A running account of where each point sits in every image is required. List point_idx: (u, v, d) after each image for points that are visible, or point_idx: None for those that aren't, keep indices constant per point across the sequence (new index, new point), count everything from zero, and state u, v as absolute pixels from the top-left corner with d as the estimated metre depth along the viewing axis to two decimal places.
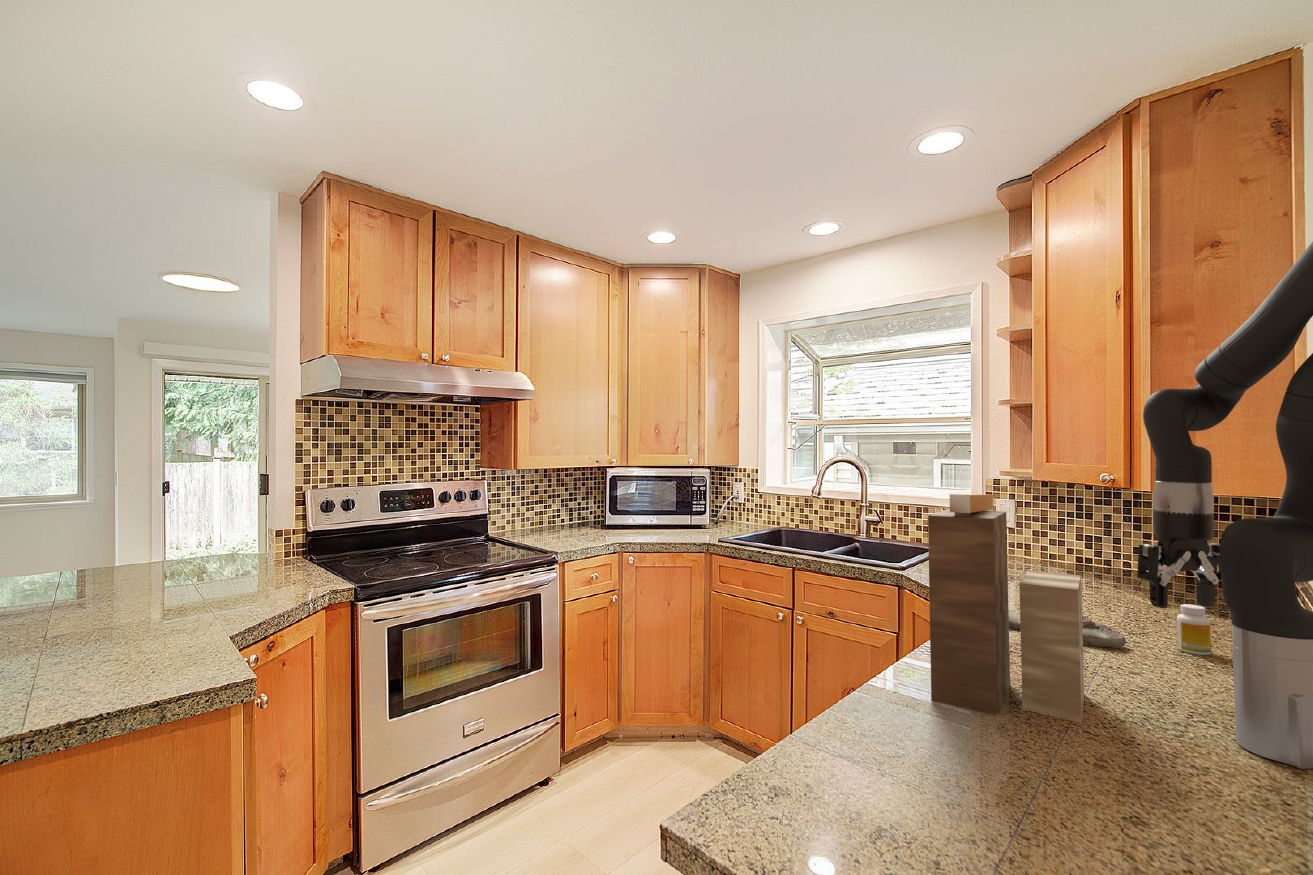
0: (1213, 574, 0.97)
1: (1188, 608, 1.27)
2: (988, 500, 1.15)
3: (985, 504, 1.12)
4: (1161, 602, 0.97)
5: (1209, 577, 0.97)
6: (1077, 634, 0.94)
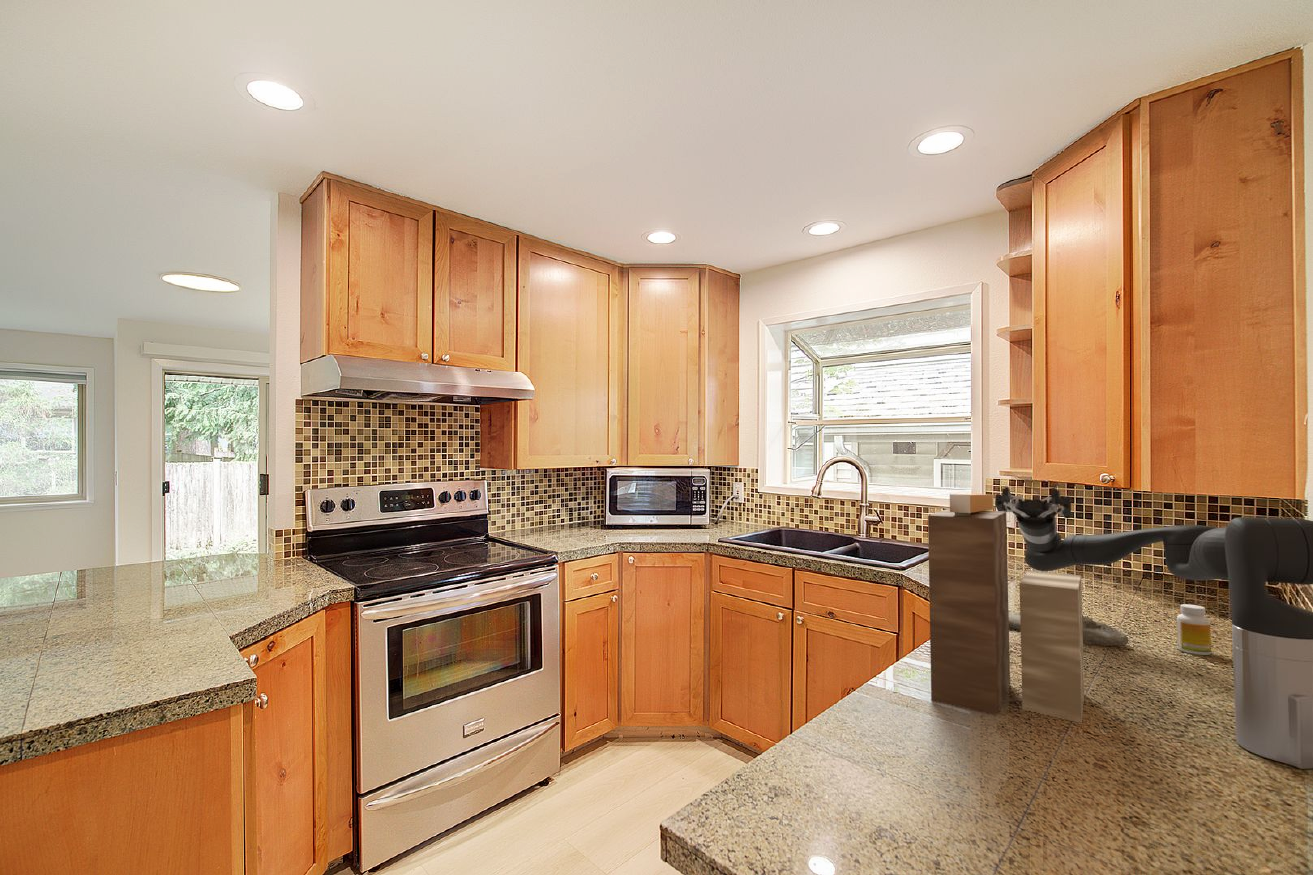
0: None
1: (1188, 608, 1.27)
2: (988, 500, 1.15)
3: (985, 504, 1.12)
4: None
5: (1051, 497, 1.29)
6: (1077, 634, 0.94)
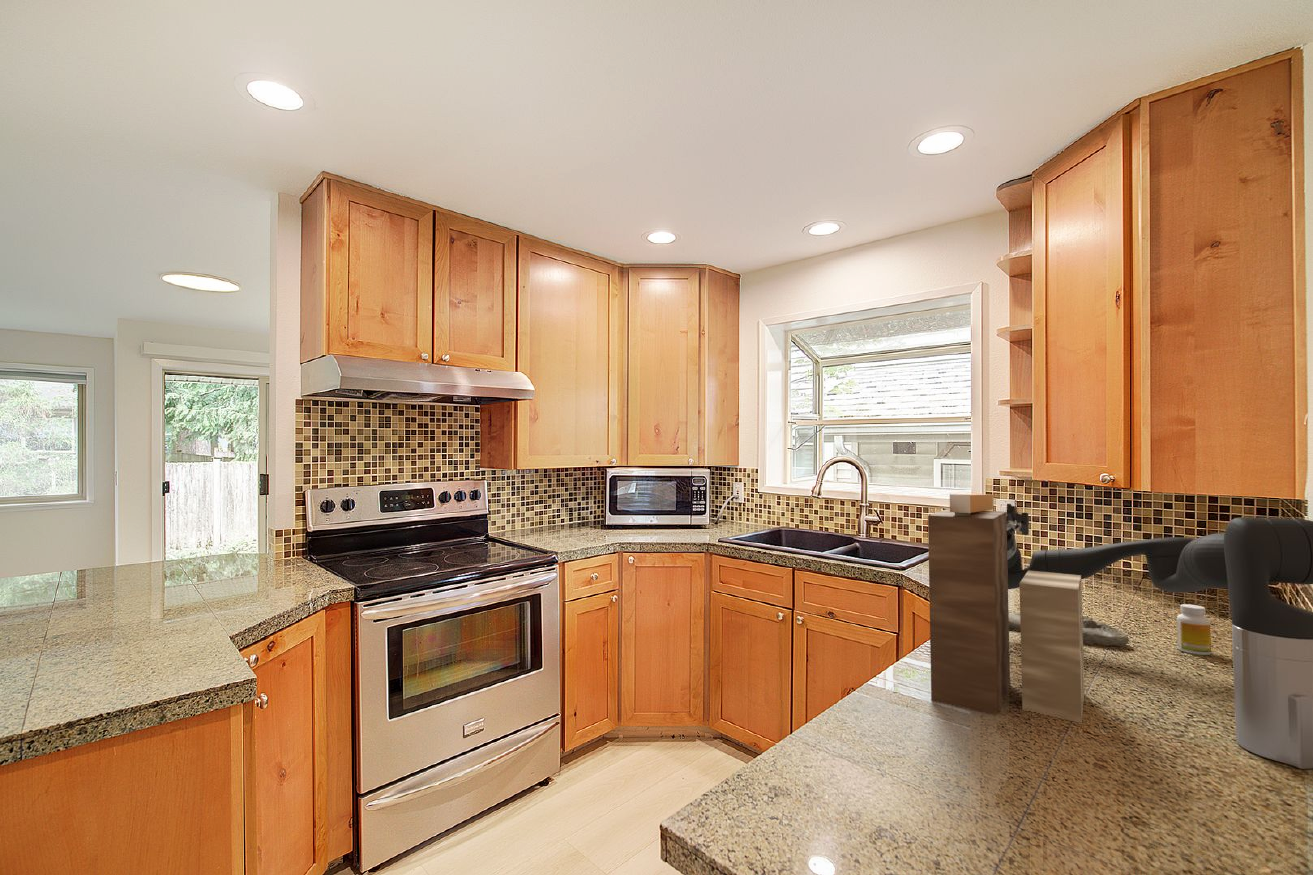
0: None
1: (1188, 608, 1.27)
2: (988, 500, 1.15)
3: (985, 504, 1.12)
4: None
5: None
6: (1077, 634, 0.94)
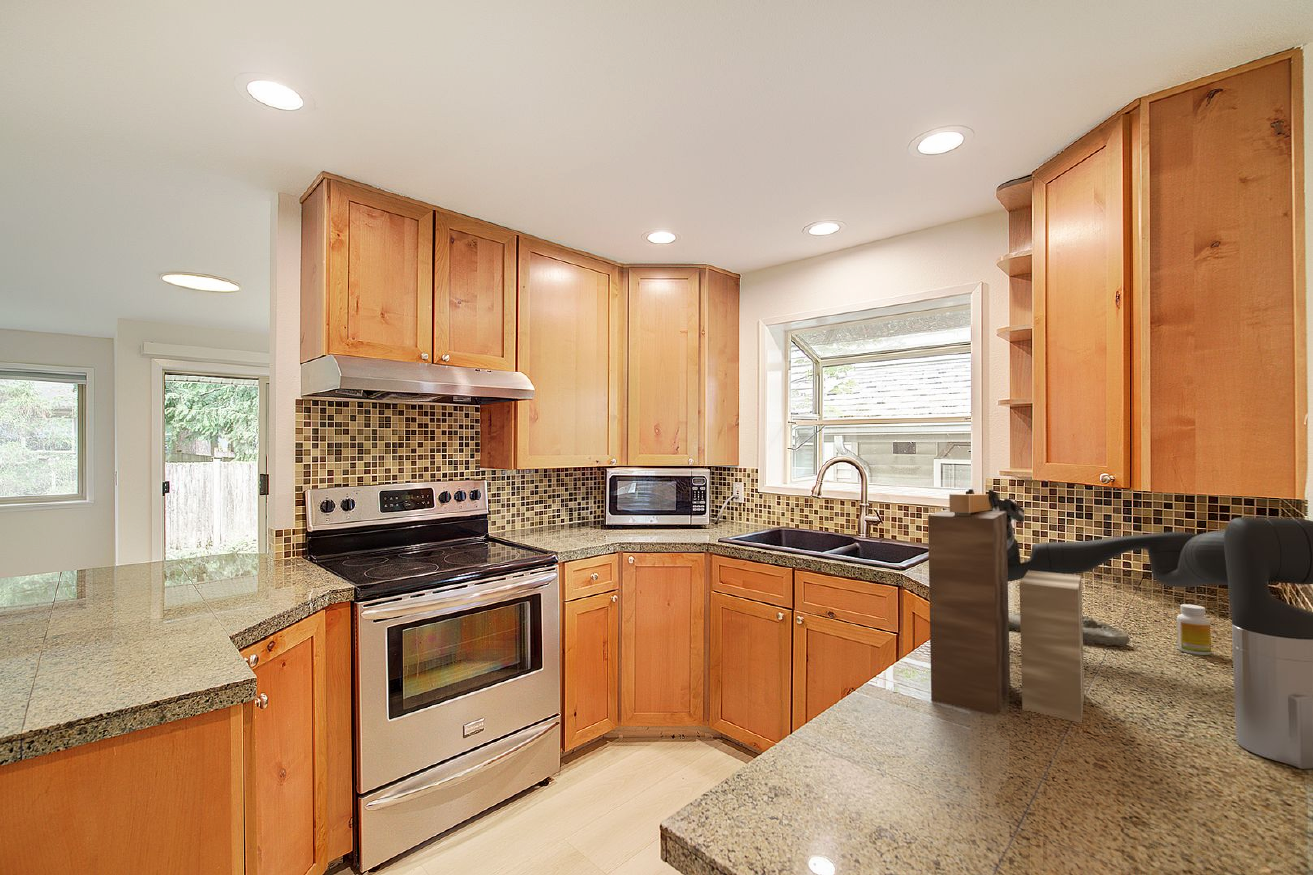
0: None
1: (1188, 608, 1.27)
2: (988, 500, 1.15)
3: (985, 504, 1.12)
4: None
5: None
6: (1077, 634, 0.94)
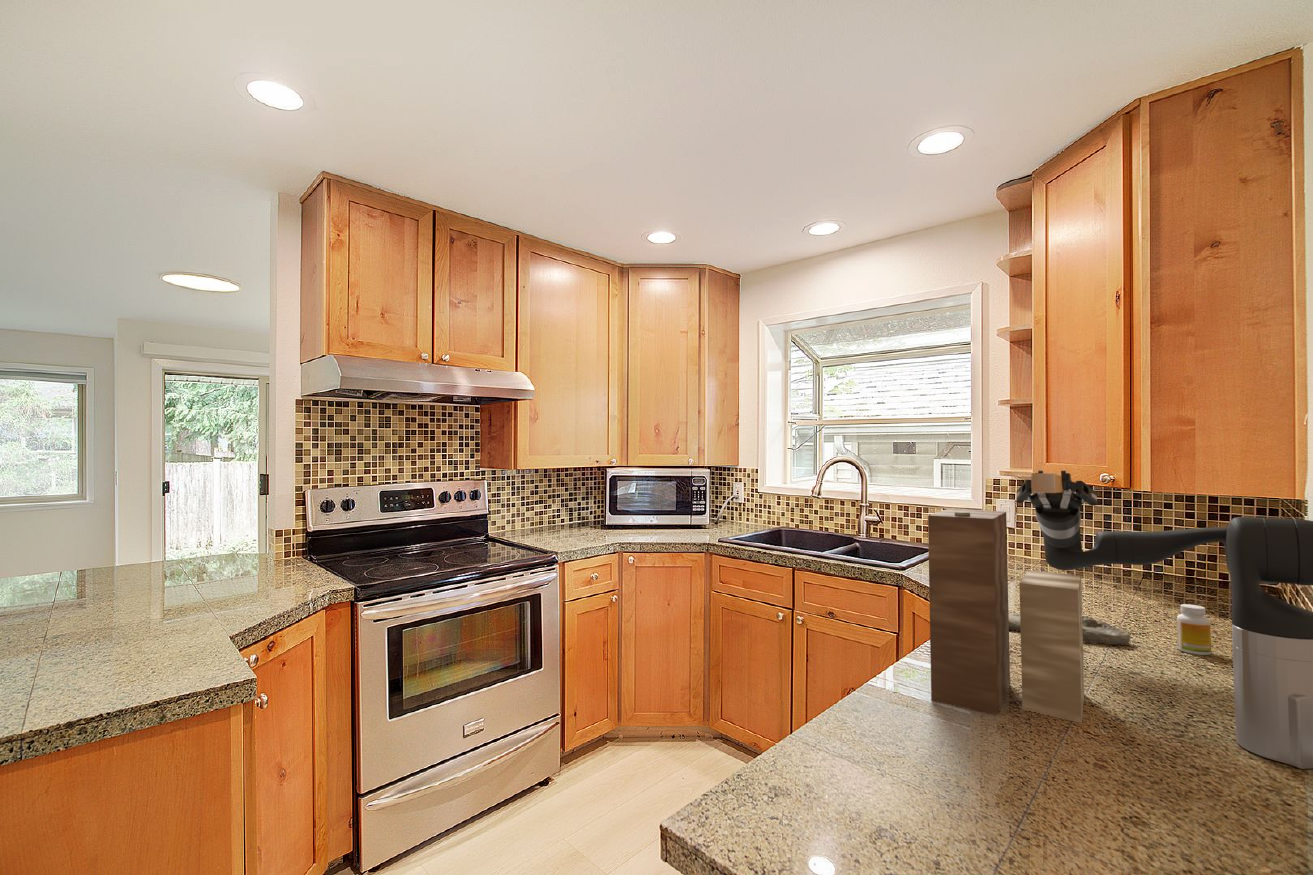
0: None
1: (1188, 608, 1.27)
2: (1061, 482, 1.08)
3: (1060, 485, 1.05)
4: None
5: None
6: (1077, 634, 0.94)
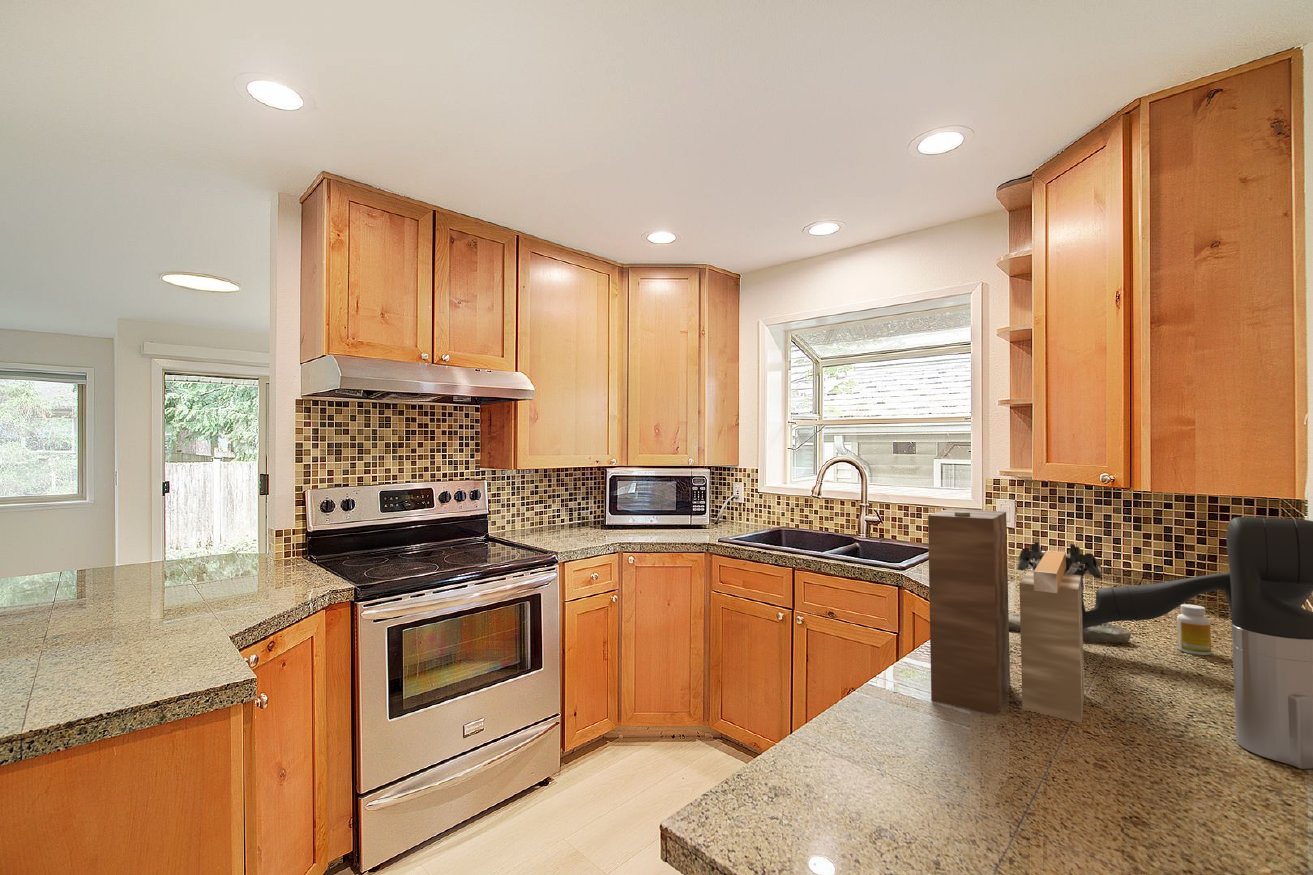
0: None
1: (1188, 608, 1.27)
2: None
3: None
4: None
5: None
6: (1077, 634, 0.94)
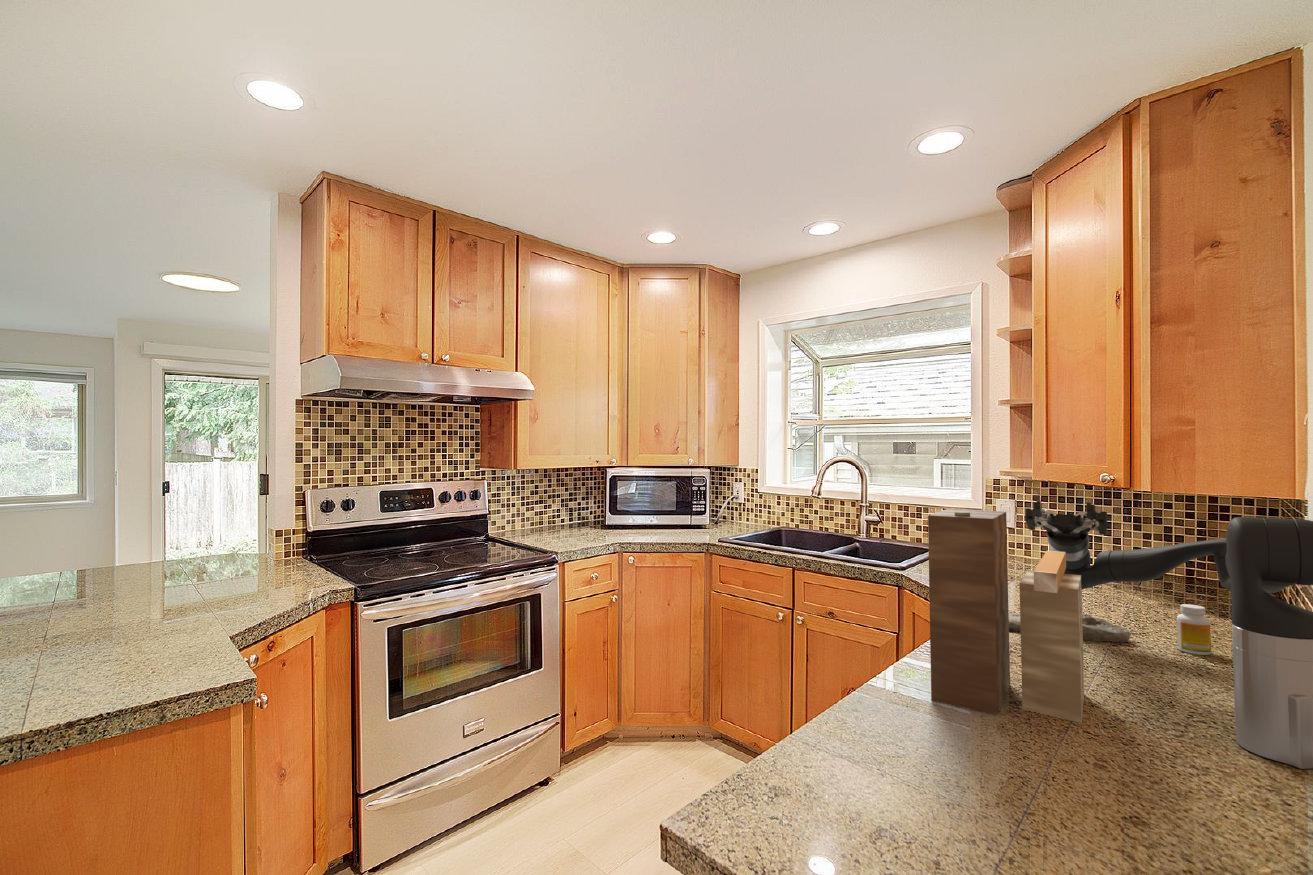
0: None
1: (1188, 608, 1.27)
2: None
3: None
4: None
5: None
6: (1077, 634, 0.94)
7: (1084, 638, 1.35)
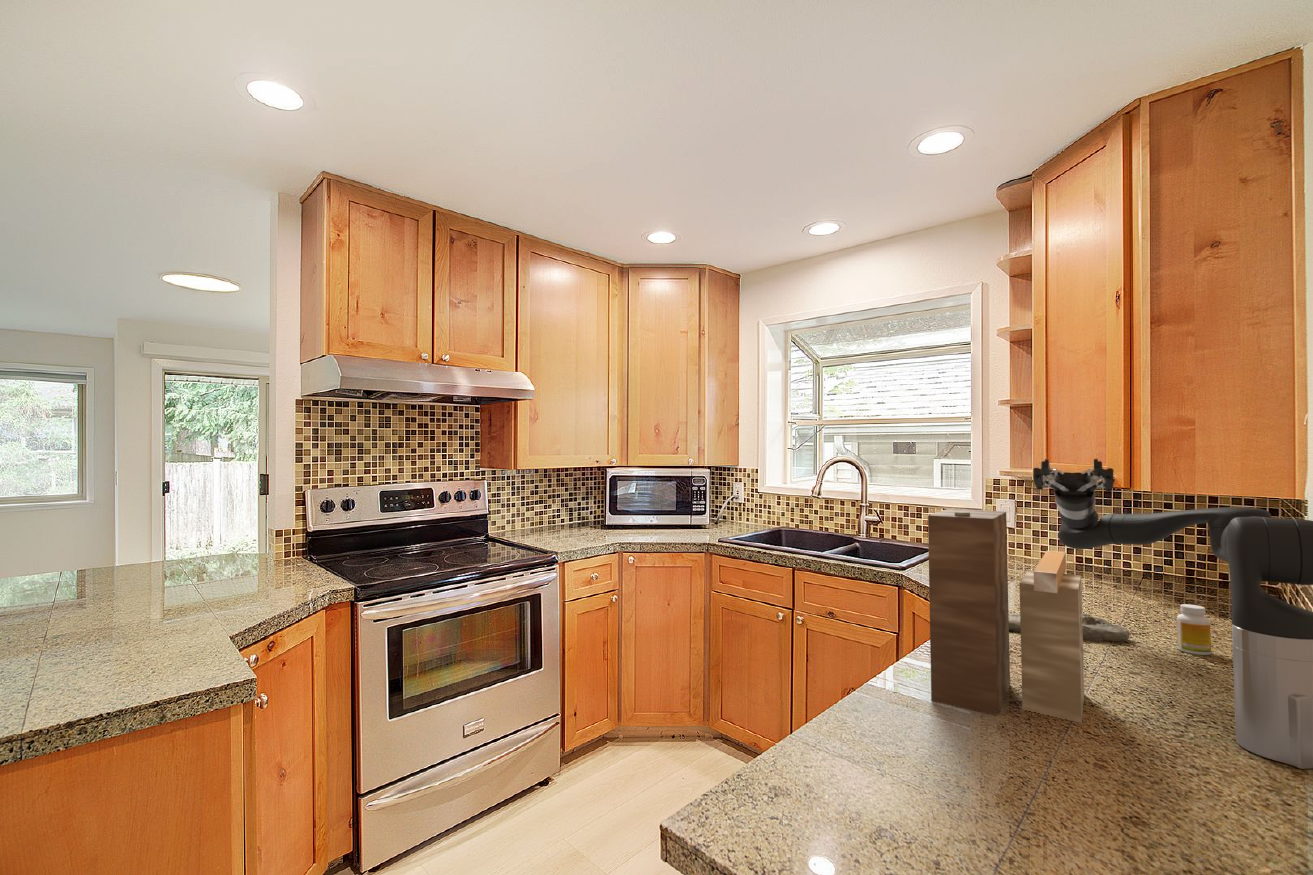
0: None
1: (1188, 608, 1.27)
2: None
3: None
4: (1045, 461, 1.28)
5: (1092, 469, 1.26)
6: (1077, 634, 0.94)
7: (1085, 638, 1.36)
